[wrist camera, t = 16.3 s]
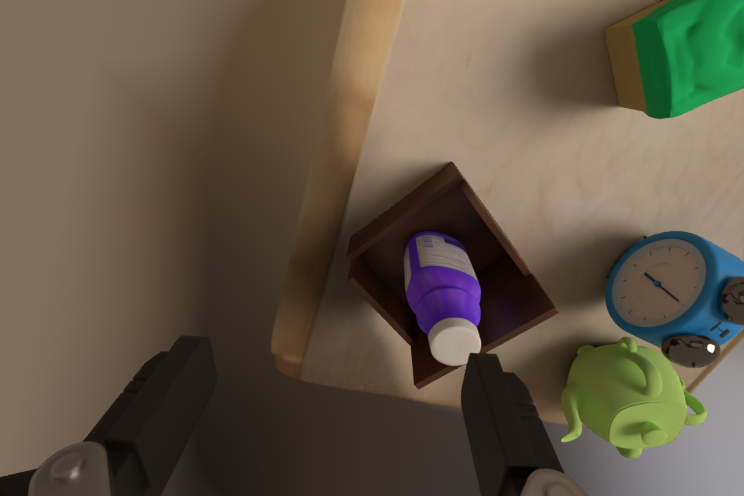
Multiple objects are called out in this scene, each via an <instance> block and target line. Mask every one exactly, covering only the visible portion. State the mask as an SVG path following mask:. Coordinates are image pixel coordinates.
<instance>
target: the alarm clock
mask: <svg viewBox="0 0 744 496" xmlns="http://www.w3.org/2000/svg"><path fill="white" fill-rule="evenodd" d="M643 237H644V240H642V241H640V242H638V243H637V244H635V245H634V246H633V247H631V248H630V249H629V250H628V251H627V252H626V253H625V254H624V255H623V256H622V257H621V258H620V259H619V261H618V262H617V263H616V265H615V266H614V268H613V270H612V272H611V274H610V276H607V278H608V282H607V286H606V293H605V299H606V305H607V309H608V312H609V314H610V316H611V318H612V319H613V321H614V322H615V323H616V324H617V325H618V326H619V327H620V328H622V329H623V330H624V331H626V332H628V333H630V334H632V335H634V336H636V337H638V338H641V339H643V340H645V341H647V342H649V343H651V344H653V345H656V346H658V347H660V348H661V351H662V353H663V355H664V356H665V357H666V358H667V359H668V360H669V361H670V362H672V363H674V364H676V365H679V366H682V367H687V368H700V367H705V366H707V365H710V364H712V363H713V362H715V361H716V360H717V358H718V357H719V355H720V345H722V344H724V343H726V342H727V341H729V340H730V339H732V338H733V337H734V336H735V335H736V334H738V333H739V332H740V331H741V330H742V328H743V327H744V262H743V261H742V260H740V259H739V258H738V257H736V256H735V255H733V254H731V253H729V252H727V251H725V250H724V249H722V248H720V247H718V246H716V245H715V244H713V243H711V242H709V241H707V240H705V239H704V238H702V237H700V236H698V235H695V234H692V233H688V232H683V231H669V232H663V233H659V234H655V235H652V236H650V237H648V238H647V236H643Z"/></svg>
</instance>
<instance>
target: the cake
mask: <svg viewBox="0 0 744 496" xmlns="http://www.w3.org/2000/svg"><path fill="white" fill-rule="evenodd" d="M604 31H605V36H606V42H607V47H608V52H609V57H610V62H611V67H612V72H613V77H614V82H615V87H616V92H617V97H618V103H619V107H624V108H629V109H634V110H639V111H643V112H644V113H645V114H647V115H648V116H650V117H653V118H657V119H662V118H671V117H675V116H679V115H681V114H684V113H686V112H688V111H690V110H693V109H695V108H697V107H699V106H701V105H703V104H706V103H708V102H710V101H712V100H715V99H717V98H720V97H722V96H725V95H727V94H730V93H733V92H735V91H738V90H740V89H742V88H744V0H662V1H660V2H658V3H656V4H654V5H652V6H650V7H648V8H646V9H644V10H642V11H640V12H638V13H636V14H634V15H632V16H630V17H628V18H626V19H624V20H622V21H620V22H618V23H616V24H614V25H612V26H610V27H608V28H606V29H604Z"/></svg>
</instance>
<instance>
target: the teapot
mask: <svg viewBox="0 0 744 496" xmlns="http://www.w3.org/2000/svg"><path fill="white" fill-rule="evenodd" d="M577 355H578V356H577V357H576V359H575V360H574V361H573V363H572V365H571V368H570V371H569V375H568V379H567V385H566V387H565V389H564V390H563V392H562V395H561V406H562V410H563V412H564V415H565V417H566V419H567V422H568V426H569V428H568V432H567V433H566V434H565V436H564V437H563V438H562V440H561V441H562V442H568V441H571V440H574V439H576V438H577V437H578V436H579V435H580V434H581V431H582V425H581V421H582V422H583V423H584V424H585V425H586V426H587V427H588V428H589V429H590V430H592V431H593V432H594V433H596V434H597V435H598V436H600V437H601V438H603V439H604V440H606V441H607V442H609V443H610V444H612V445H614V446H616V448H617V450H618V451H619V452H620V454H621V455H622V456H624V457H627V458H636V457H638V456H640V455H641V453H642V449H643V448H650V447H656V446H661V445H664V444H667V443H670V442H672V441H673V440H675V439H676V438H677V437H678V435H679V434H680V431H681V430H682V428H683V425H684V424H685V425H698V424H700V423H702V422H703V421H704V420H705V418H706V415H707V411H706V408H705V407H704V405H703V404H702V403H701V402H700V401H699V400H698V399H696V398H695V397H694V396H692V395H691V394H690V393H688V392H687V391H685V390H684V389H685V384H684V382H683V380H682V379H680V378H679V377H678V375H677V373H676V372H675V370H674V368H673V367H672V365H671V364H670V363H669V361H668V360H667V359H666V358H665V357H664V356H663V355H662V354H660V353H659V352H657V351H655V350H652V349H649V348H646V347H642V346H637V344H636V342H635V340H634V339H632V338H630V337H623V338H621V339H620V340H619V342H618V344H610V345H604V346H600V347H596V348H594V347H593V346H591V345H584V346H581V347H580V348H579V349H578V350H577ZM686 405H688V406H689V407H690V408H691V409H693V411H695V413H696V414H687V407H686ZM580 420H581V421H580Z"/></svg>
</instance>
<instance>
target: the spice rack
mask: <svg viewBox="0 0 744 496" xmlns="http://www.w3.org/2000/svg"><path fill="white" fill-rule="evenodd" d="M421 231H435V232H440V233H443V234H446V235H449V236H451V237H453V238H455V239H457V240H458V241H459V242H461V244H462V245H463V246H464V247H465V250H466V253H467V255H468V258H469V260H470V262H471V265H472V267H473V270H474V272H475V275H476V277H477V280H478V283H479V285H480V290H481V295H480V297H481V299H480V302H479V305H480V310H481V316H480V321H479V323H478V325H477V330H478V333H479V337H480V340H481V349H480V352H479V353H486V352H488V351H490V350H492V349H493V348H495V347H497V346H499V345H501V344H503V343H504V342H506V341H508V340H510V339H512V338H514V337H515V336H517V335H519V334H521V333H523V332H525V331H526V330H528V329H530V328H532V327H534V326H536V325H537V324H539V323H541V322H543V321H545V320H547V319H548V318H550V317H552V316H554V315H556V314H558V313H559V311H558V310H557V308H556V307H555V306H554V304H553V303H552V301H551V300H550V298H549V297H548V295H547V294H546V293H545V291H544V290H543V288H542V287H541V285H540V284H539V282H538V281H537V280H536V278H535V277H534V275H533V274H532V272H531V271H530V269H529V268H528V266H527V265H526V264H525V262H524V261H523V259H522V258H521V256H520V255H519V253H518V252H517V251H516V249H515V248H514V246H513V245H512V243H511V242H510V240H509V239H508V238H507V236H506V235H505V233H504V232H503V231H502V229H501V228H500V227H499V225H498V224H497V222H496V221H495V220H494V218H493V217H492V216H491V214H490V213H489V211H488V210H487V209H486V207H485V206H484V204H483V203H482V202H481V200H480V199H479V198H478V196H477V195H476V193H475V192H474V191H473V189H472V188H471V187H470V185H469V184H468V182H467V181H466V180H465V178H464V177H463V175H462V174H461V173H460V171H459V170H458V169H457V167H456V166H455V164H454V163H453V162H451V163H450V164H448V165H447V166H446V167H444V168H443V169H442V170H440V171H439V172H438V173H436V174H435V175H433V176H432V177H431V178H429V179H428V180H427V181H425V182H424V183H423V184H421V185H420V186H419V187H417V188H416V189H415V190H413V191H412V192H411V193H409V194H408V195H407V196H405V197H404V198H403V199H401V200H400V201H399V202H397V203H396V204H395V205H393V206H392V207H391V208H389V209H388V210H387V211H385V212H384V213H383V214H381V215H380V216H379V217H377V218H376V219H375V220H373V221H372V222H370V223H369V224H368V225H366V226H365V227H364V228H362V229H361V230H360V231H358V232H357V233H356V234H354V235H353V236H352V237H350V242H349V247H348V252H347V258H348V259H349V260H350V261H351V265H350V271H349V277H348V282H349V283H350V284H351V285H352V286H353V287H354V288H355V289H356V290H357V291H358V293H359V294H360V295H361V296H362V297H363V298H364V299H365V300H366V301H367V302H368V303H369V304H370V305H371V306H372V307H373V308H374V309H375V310H376V311H377V312H378V313H379V314H380V315H381V316H382V317H383V318H384V319H385V320H386V321H387V322H388V323H389V324H390V325H391V326H392V328H393V329H394V330H395V331H396V332H397V333H398V334H399V335H400V336H401V337H402V338H403V339H404V340H405V341H406V342H407V343H408V344H409V345H410V346H411V355H412V366H413V377H414V385H415V386H416V387H417V388H418V389H420V388H422V387H424V386H426V385H427V384H429V383H431V382H433V381H435V380H437V379H438V378H440V377H442V376H444V375H446V374H448V373H449V372H451V371H453V370H455V369H457V368H459V367H460V366H462V365H458V366H452V365H446V364H443V363H441V362H439V361H438V360H437V359H435V358H434V356H433V355H432V353H431V350H430V344H429V340H428V335H427V334H426V333H425V332H423V331H422V330H421V328H420V327H419V325H418V322H417V319H416V314H415V313H414V312H413V310H412V309H411V308H410V306H409V303H408V301H407V297H406V289H405V274H404V252H405V249H406V246H407V244H408V243H409V241H410V239H411V238H412V237H413V236H414V235H415V234H416V233H418V232H421ZM463 365H464V364H463Z"/></svg>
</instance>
